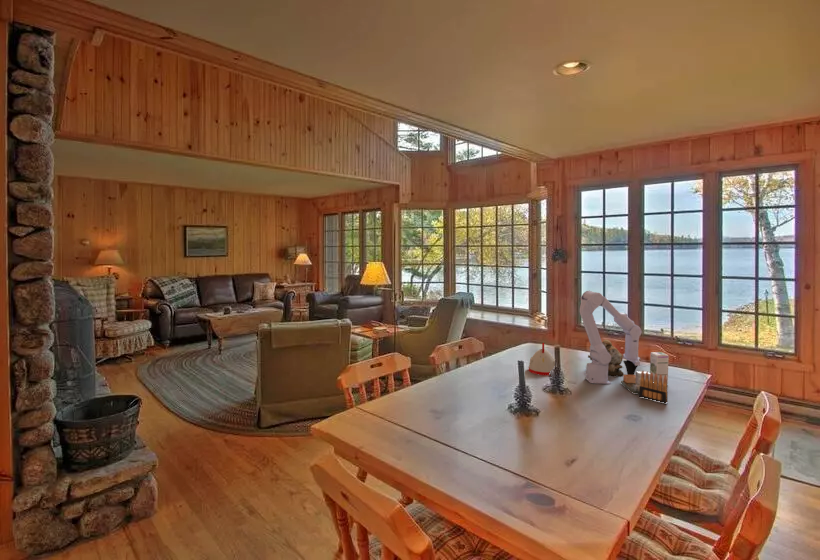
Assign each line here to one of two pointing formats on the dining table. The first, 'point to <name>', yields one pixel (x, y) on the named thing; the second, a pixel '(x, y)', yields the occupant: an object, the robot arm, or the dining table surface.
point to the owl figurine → (613, 359)
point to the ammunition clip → (653, 387)
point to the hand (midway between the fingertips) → (630, 376)
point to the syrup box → (659, 365)
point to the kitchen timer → (541, 362)
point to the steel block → (638, 377)
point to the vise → (631, 387)
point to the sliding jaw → (629, 378)
